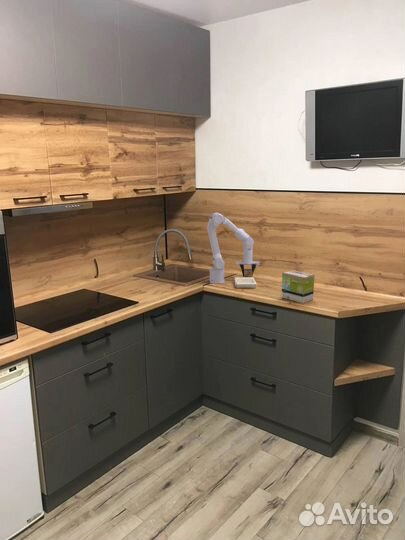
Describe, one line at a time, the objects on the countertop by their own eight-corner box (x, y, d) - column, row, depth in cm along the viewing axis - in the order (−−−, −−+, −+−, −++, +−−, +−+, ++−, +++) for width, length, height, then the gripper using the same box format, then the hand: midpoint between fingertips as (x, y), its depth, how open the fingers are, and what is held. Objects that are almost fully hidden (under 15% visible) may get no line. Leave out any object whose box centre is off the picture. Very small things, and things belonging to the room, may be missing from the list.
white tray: (236, 289, 277) (236, 284, 276) (234, 282, 294) (234, 277, 293) (256, 289, 277) (256, 283, 276) (253, 282, 294) (253, 277, 293)
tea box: (280, 298, 259) (281, 272, 256) (291, 294, 266) (292, 269, 263) (303, 303, 249) (304, 276, 245) (313, 300, 255) (315, 274, 252)
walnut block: (244, 279, 295) (244, 271, 294) (243, 276, 302) (243, 268, 301) (252, 279, 295) (252, 271, 294) (250, 276, 302) (250, 268, 301)
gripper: (237, 256, 291) (237, 277, 294) (260, 256, 292) (259, 277, 295) (236, 254, 298) (236, 274, 301) (258, 254, 298) (258, 274, 301)
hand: (247, 275), depth 298 cm, fingers closed on walnut block, 5 cm apart
